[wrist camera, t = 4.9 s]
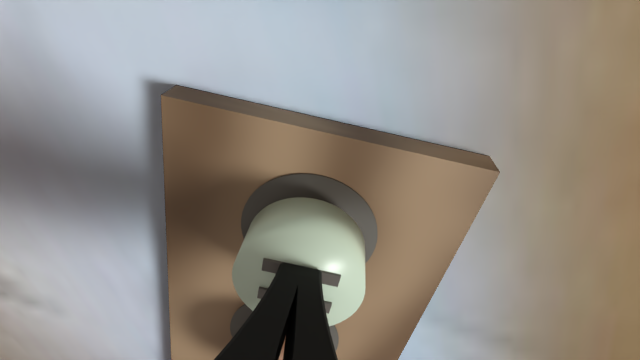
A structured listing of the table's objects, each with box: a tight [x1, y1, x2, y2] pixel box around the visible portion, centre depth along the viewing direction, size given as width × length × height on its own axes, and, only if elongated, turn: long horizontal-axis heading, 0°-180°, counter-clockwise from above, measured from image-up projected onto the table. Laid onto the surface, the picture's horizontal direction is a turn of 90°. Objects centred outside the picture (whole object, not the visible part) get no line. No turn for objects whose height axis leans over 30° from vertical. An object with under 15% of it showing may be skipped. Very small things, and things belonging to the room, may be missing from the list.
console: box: [161, 85, 500, 360], centre depth 19 cm, size 12×23×1 cm, turn 169°
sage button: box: [232, 197, 366, 326], centre depth 13 cm, size 5×5×2 cm
